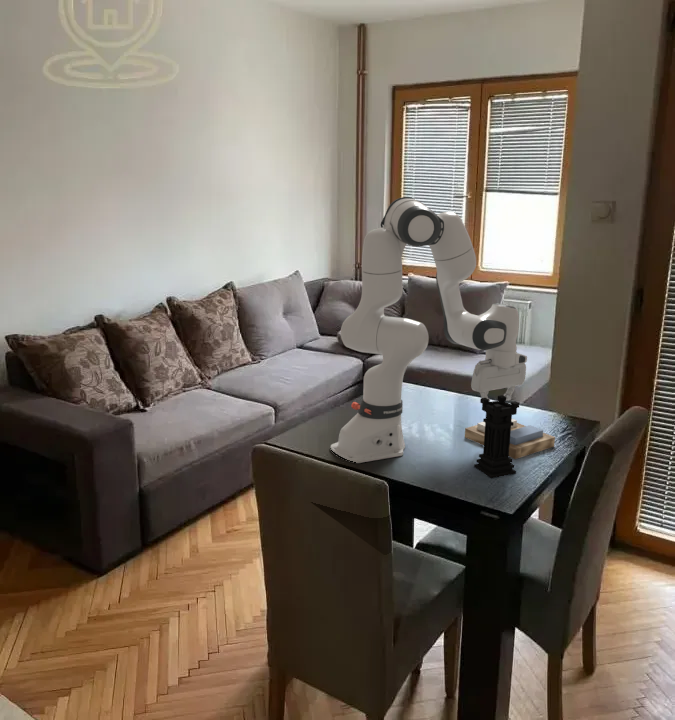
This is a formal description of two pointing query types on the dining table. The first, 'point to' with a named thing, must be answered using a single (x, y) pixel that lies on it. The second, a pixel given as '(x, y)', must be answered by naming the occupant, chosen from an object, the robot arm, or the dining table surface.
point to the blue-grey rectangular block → (525, 434)
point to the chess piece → (497, 438)
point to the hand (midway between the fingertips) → (496, 402)
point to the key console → (515, 450)
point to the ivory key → (482, 425)
